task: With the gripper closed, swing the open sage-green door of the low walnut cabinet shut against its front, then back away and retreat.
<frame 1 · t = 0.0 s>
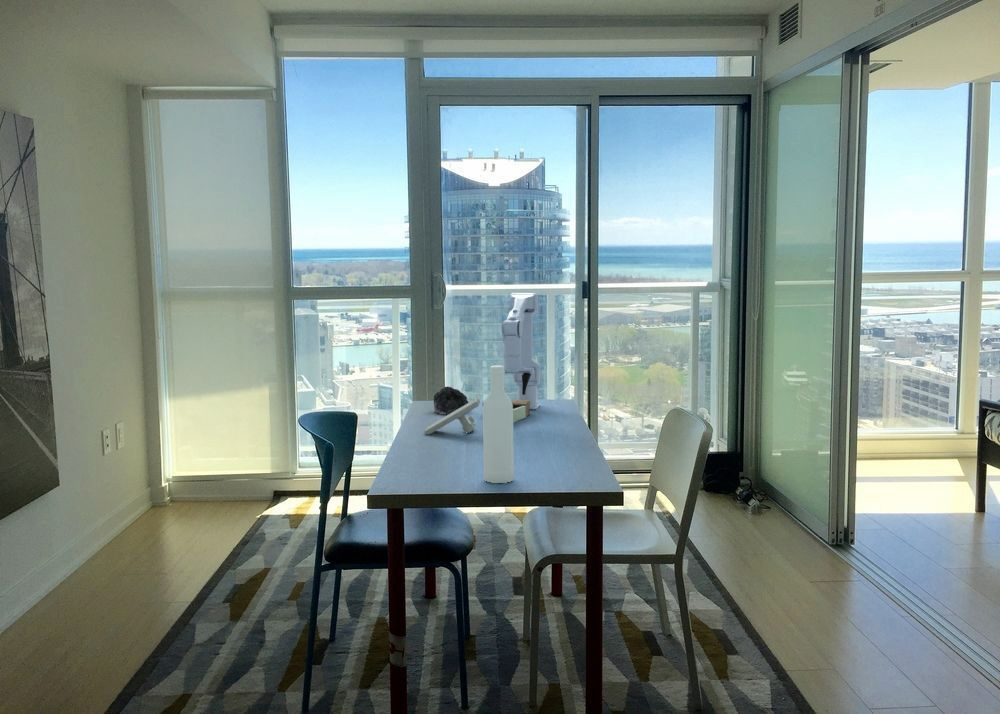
hand: (513, 394, 282), 10 cm above the table, tool pointing down, fingers open, 7 cm apart
cabinet: (506, 415, 297), on the table
bottle: (499, 480, 214), on the table
door handle: (454, 430, 276), on the table
door: (515, 415, 284), point 3 cm above the table, hinge at 70.0°
crystal cluster: (451, 412, 306), on the table
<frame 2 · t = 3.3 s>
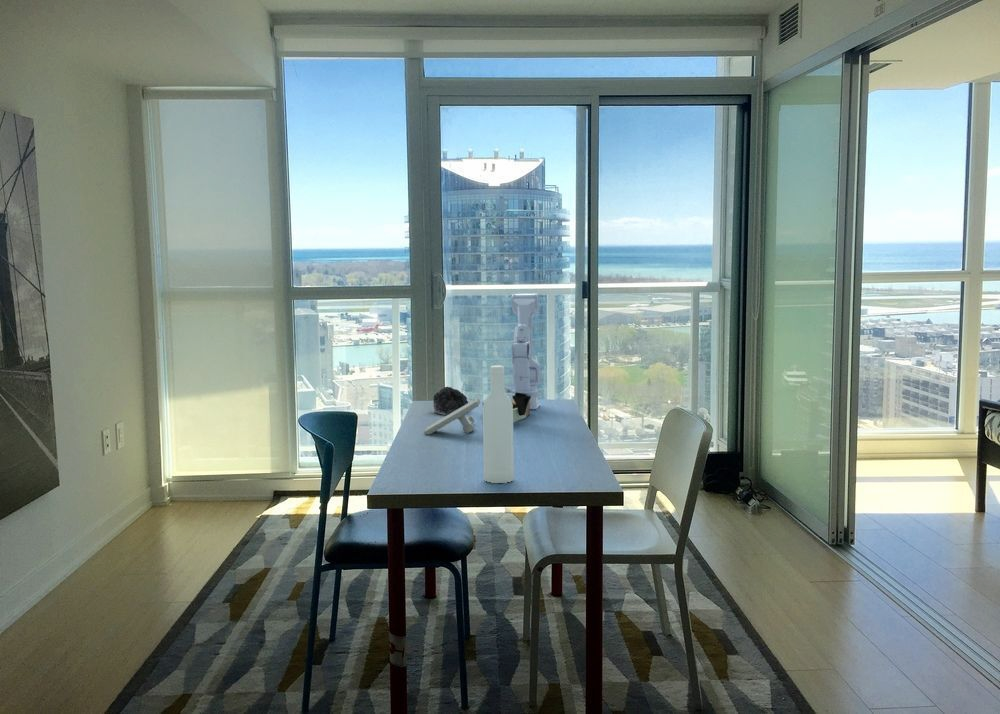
hand: (521, 415, 285), 2 cm above the table, tool pointing down, fingers closed, pressing on door
door: (515, 415, 284), point 3 cm above the table, hinge at 69.9°, touching gripper
everything else where it was.
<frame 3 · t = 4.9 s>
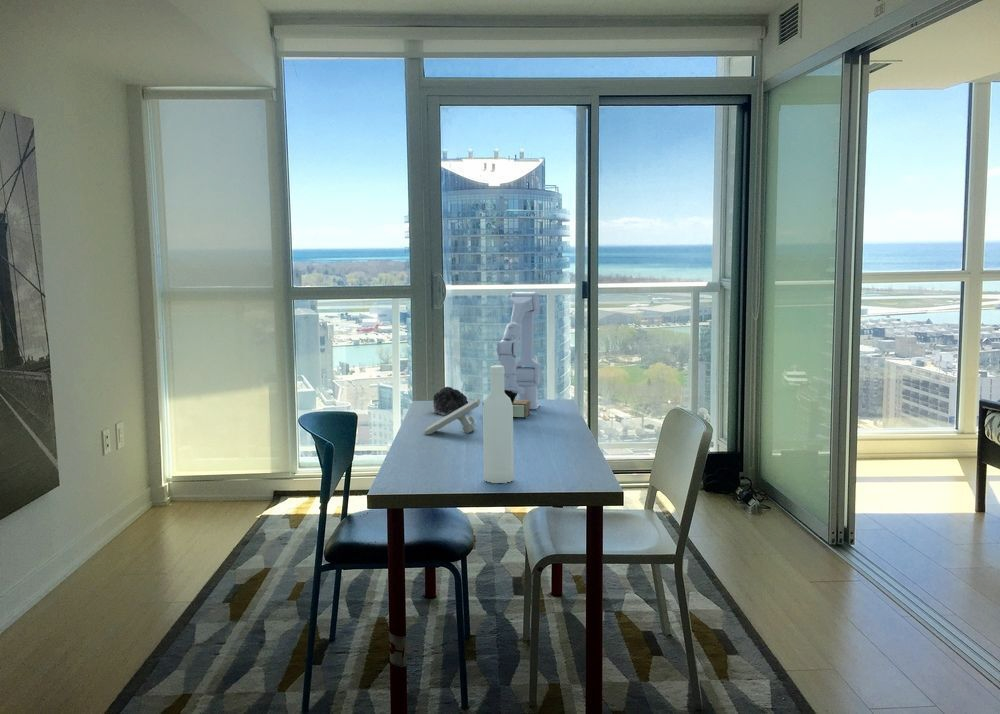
hand: (508, 411, 290), 3 cm above the table, tool pointing down, fingers closed, pressing on door
door: (504, 411, 292), point 3 cm above the table, hinge at -0.7°, touching gripper
everything else where it was.
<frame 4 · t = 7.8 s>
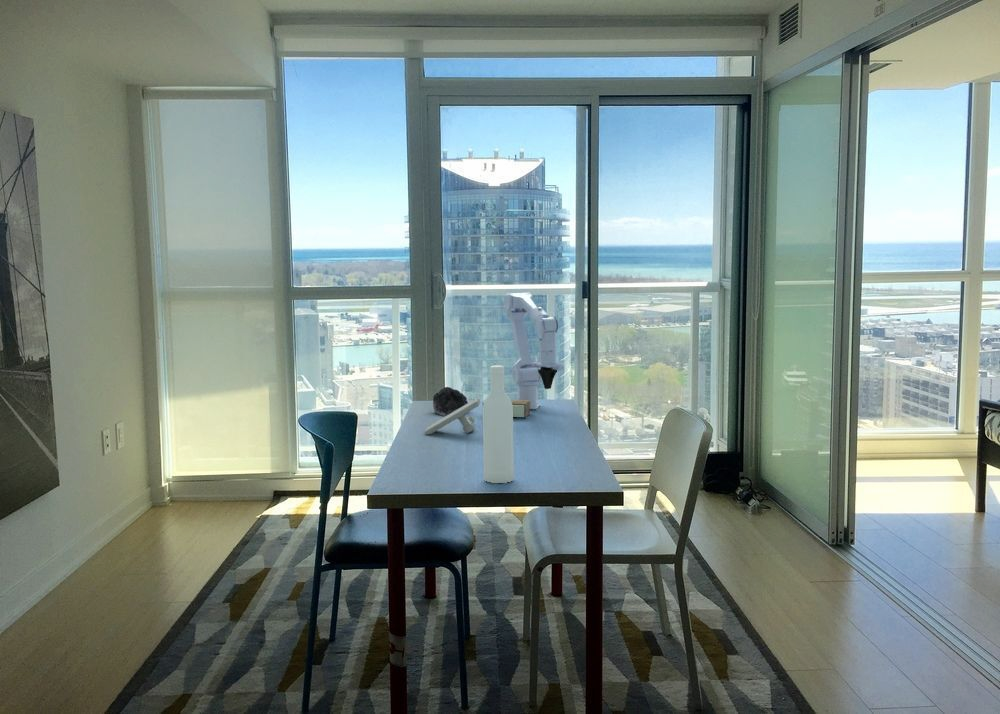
hand: (547, 388, 294), 10 cm above the table, tool pointing down, fingers closed
door: (504, 411, 292), point 2 cm above the table, hinge at -0.7°
at the end: door at -1° (first picture: +70°) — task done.
